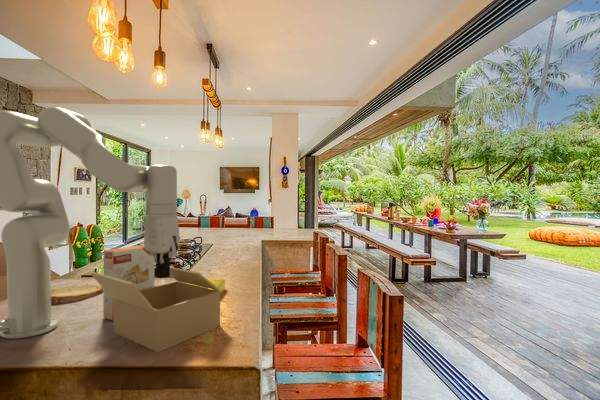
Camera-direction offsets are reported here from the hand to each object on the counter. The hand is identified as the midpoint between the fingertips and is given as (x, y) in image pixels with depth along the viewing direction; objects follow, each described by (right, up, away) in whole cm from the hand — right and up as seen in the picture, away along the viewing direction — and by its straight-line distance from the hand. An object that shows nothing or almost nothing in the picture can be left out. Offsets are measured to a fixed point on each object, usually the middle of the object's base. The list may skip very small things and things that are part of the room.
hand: (162, 276), depth 96 cm
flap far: (+4, -2, +7) cm, 8 cm away
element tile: (+1, -15, +36) cm, 39 cm away
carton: (+1, -15, +2) cm, 15 cm away
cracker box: (-16, -15, +14) cm, 26 cm away
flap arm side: (-6, -1, -9) cm, 11 cm away
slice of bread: (-46, -15, +31) cm, 57 cm away
